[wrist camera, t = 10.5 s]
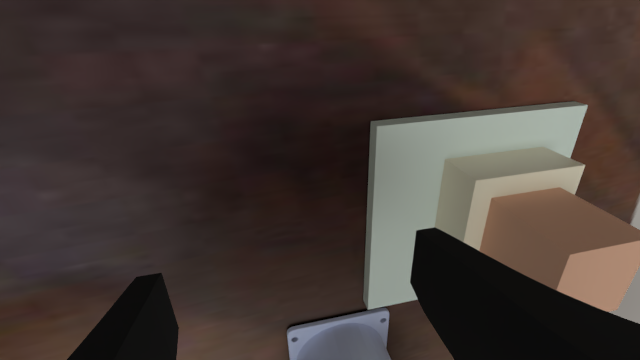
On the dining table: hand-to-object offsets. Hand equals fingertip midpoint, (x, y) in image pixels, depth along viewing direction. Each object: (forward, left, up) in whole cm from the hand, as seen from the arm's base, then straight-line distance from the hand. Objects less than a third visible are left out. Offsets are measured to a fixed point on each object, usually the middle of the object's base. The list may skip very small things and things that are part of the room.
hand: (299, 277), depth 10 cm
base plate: (-6, -13, -10) cm, 18 cm away
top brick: (-5, -14, -6) cm, 16 cm away
